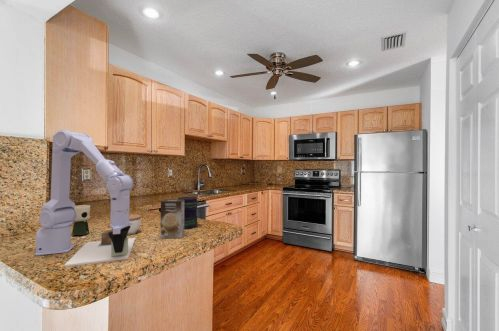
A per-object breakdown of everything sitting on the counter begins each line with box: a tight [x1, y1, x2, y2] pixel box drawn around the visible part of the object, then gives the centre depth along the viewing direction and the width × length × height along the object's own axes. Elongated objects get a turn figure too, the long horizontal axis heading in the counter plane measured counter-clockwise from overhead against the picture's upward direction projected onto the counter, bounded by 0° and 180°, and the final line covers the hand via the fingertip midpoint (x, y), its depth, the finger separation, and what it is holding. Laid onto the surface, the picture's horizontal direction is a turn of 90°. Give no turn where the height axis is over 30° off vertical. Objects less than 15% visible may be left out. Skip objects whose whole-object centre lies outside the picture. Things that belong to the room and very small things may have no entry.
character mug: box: [71, 204, 91, 236], centre depth 108 cm, size 11×7×13 cm, turn 179°
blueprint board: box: [63, 237, 136, 268], centre depth 86 cm, size 18×24×1 cm
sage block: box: [111, 237, 129, 256], centre depth 81 cm, size 4×4×4 cm
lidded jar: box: [127, 212, 142, 236], centre depth 110 cm, size 11×11×9 cm
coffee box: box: [159, 198, 185, 239], centre depth 105 cm, size 9×6×16 cm
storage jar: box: [177, 196, 198, 230], centre depth 121 cm, size 10×10×15 cm
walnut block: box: [100, 229, 113, 245], centre depth 93 cm, size 4×4×4 cm
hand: (119, 249), depth 81 cm, fingers closed on sage block, 4 cm apart
